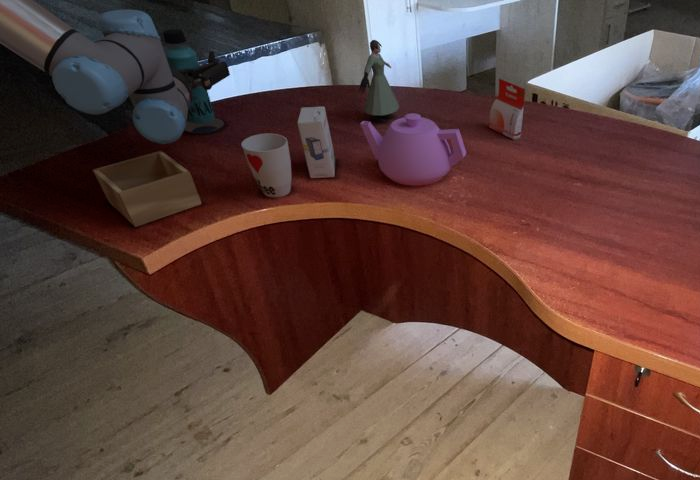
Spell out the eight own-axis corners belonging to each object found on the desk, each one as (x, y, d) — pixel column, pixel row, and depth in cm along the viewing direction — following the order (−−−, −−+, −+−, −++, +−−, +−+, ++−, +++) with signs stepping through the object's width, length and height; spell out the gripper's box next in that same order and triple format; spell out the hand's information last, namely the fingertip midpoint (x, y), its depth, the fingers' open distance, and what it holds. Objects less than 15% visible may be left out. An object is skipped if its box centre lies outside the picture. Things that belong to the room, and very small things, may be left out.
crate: (108, 202, 101) (92, 169, 97) (173, 181, 108) (160, 150, 103) (135, 227, 96) (119, 194, 91) (202, 204, 102) (190, 172, 98)
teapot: (472, 162, 121) (473, 107, 112) (457, 195, 109) (457, 137, 101) (378, 150, 123) (372, 96, 114) (354, 182, 111) (345, 124, 103)
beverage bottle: (186, 121, 128) (153, 27, 114) (216, 117, 130) (187, 24, 117) (189, 131, 124) (155, 35, 110) (220, 127, 126) (190, 32, 113)
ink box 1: (334, 178, 112) (324, 121, 104) (309, 179, 111) (296, 122, 103) (336, 160, 118) (326, 105, 110) (311, 160, 117) (300, 105, 109)
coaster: (176, 125, 127) (175, 123, 127) (213, 116, 132) (212, 114, 132) (194, 137, 123) (193, 135, 123) (231, 127, 128) (230, 125, 128)
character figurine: (382, 134, 129) (373, 53, 116) (351, 129, 130) (339, 47, 118) (409, 111, 140) (404, 34, 128) (380, 106, 141) (372, 30, 129)
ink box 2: (513, 141, 130) (517, 91, 122) (488, 128, 135) (490, 80, 127) (522, 138, 131) (526, 89, 124) (497, 125, 136) (499, 77, 128)
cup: (249, 188, 107) (234, 139, 100) (288, 177, 111) (276, 130, 104) (265, 205, 103) (251, 155, 96) (305, 193, 107) (294, 144, 100)
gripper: (102, 118, 101) (122, 81, 116) (243, 109, 108) (245, 74, 122) (83, 76, 96) (106, 42, 111) (232, 69, 102) (236, 38, 117)
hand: (179, 59), depth 116 cm, fingers open, 13 cm apart
